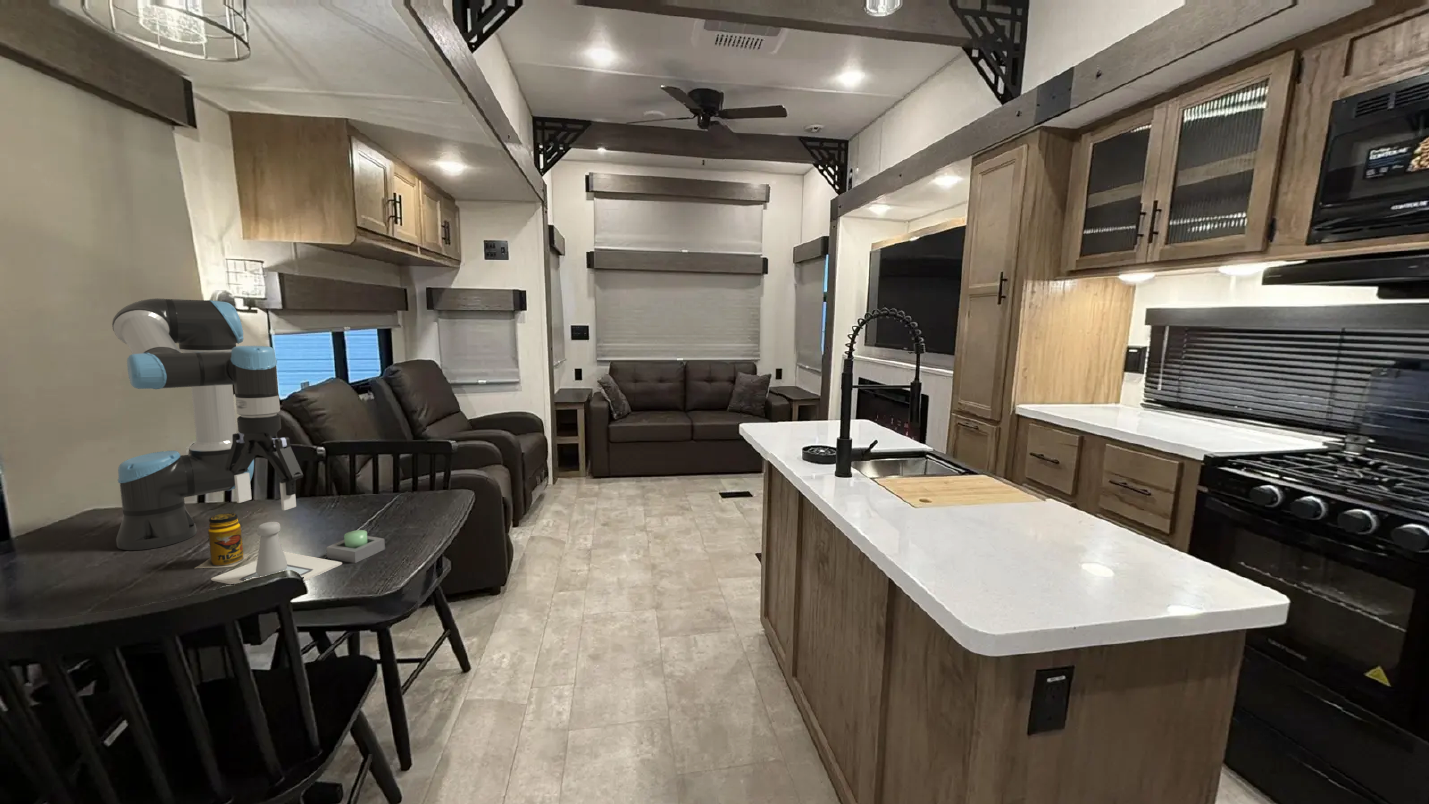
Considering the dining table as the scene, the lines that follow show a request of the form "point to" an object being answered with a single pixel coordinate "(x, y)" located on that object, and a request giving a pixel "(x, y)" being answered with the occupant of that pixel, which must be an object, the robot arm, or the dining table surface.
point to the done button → (355, 539)
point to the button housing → (355, 550)
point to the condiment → (224, 542)
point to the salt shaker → (270, 550)
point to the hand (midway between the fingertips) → (266, 504)
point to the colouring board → (296, 562)
